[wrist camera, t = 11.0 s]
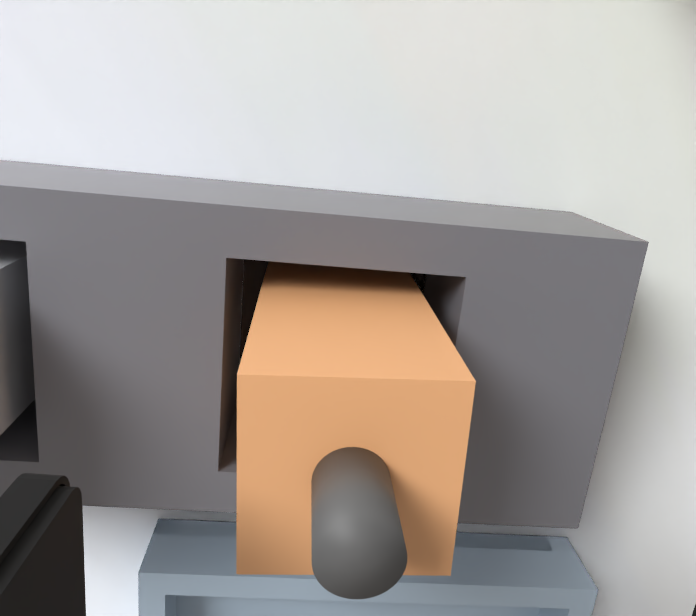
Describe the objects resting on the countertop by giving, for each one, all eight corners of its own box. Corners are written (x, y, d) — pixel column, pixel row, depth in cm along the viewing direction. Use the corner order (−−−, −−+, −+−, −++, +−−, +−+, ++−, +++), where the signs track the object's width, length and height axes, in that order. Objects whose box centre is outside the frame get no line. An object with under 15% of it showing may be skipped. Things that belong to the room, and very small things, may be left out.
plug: (401, 259, 19) (513, 441, 9) (391, 378, 20) (478, 666, 10) (270, 253, 19) (219, 435, 8) (268, 374, 20) (221, 668, 9)
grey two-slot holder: (571, 212, 19) (648, 242, 15) (524, 443, 21) (578, 528, 17) (-278, 134, 17) (-479, 143, 12) (-225, 400, 19) (-379, 483, 15)
